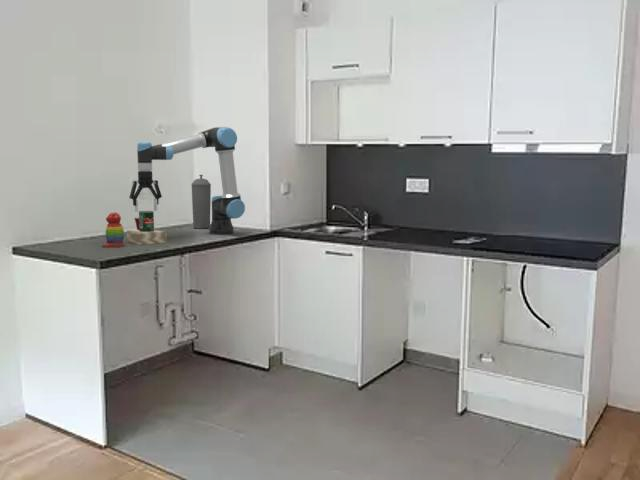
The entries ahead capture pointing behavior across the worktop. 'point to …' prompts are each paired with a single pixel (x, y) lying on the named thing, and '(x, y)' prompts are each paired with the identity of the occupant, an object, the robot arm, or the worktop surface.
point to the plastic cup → (137, 222)
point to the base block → (146, 237)
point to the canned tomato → (146, 221)
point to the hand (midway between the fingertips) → (146, 211)
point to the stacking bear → (114, 231)
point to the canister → (201, 203)
